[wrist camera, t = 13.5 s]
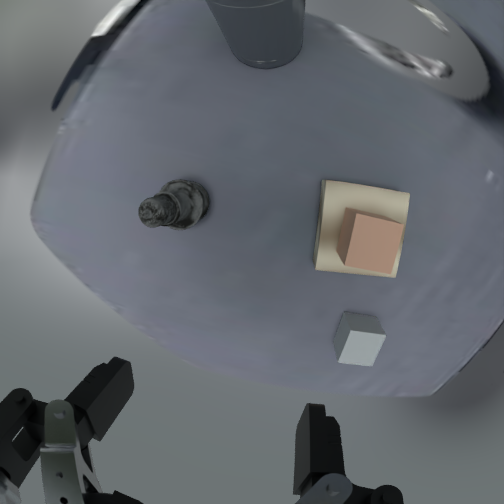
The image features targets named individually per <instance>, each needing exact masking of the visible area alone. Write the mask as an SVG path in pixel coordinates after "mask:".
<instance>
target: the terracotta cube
mask: <svg viewBox="0 0 504 504" xmlns="http://www.w3.org/2000/svg"><path fill="white" fill-rule="evenodd" d="M403 227H404V224H401V223H399V222H397V221H395V220H393V219H391V218H389V217H386V216H382V215H378V214H373V213H369V212H365V211H361V210H356V209H352V208H347V207H346V209H345V214H344V218H343V223H342V228H341V232H340V237H339V241H338V246H337V250H336V252H337V254H338V255H339V257H340V259H341V261H342V262H343V264H344V266H349V267H355V268H360V269H365V270H370V271H376V272H381V273H386V274H391V272H392V269H393V265H394V262H395V258H396V255H397V251H398V247H399V243H400V240H401V236H402V231H403Z"/></svg>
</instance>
